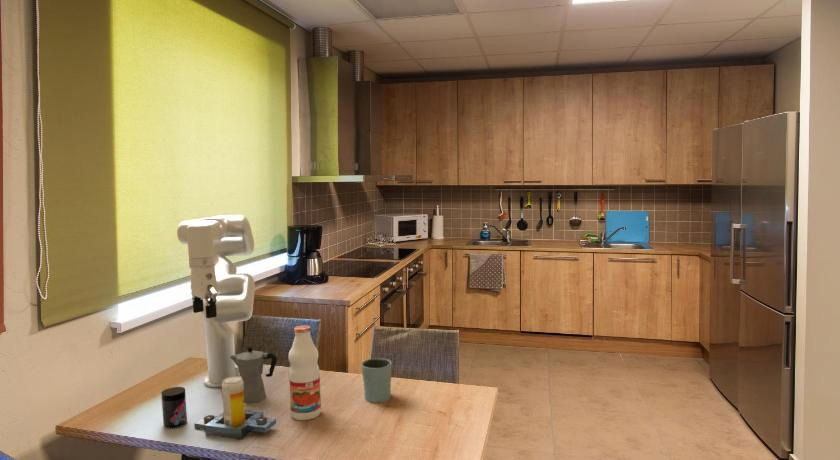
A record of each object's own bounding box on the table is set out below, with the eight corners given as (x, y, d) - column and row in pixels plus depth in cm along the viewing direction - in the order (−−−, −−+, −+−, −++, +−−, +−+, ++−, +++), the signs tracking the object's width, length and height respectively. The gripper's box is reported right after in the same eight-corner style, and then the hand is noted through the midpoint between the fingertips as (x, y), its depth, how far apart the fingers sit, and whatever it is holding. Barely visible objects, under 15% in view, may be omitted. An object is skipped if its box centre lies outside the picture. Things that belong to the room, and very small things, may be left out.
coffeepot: (228, 404, 186) (225, 351, 184) (236, 393, 196) (233, 342, 194) (275, 403, 187) (273, 350, 185) (281, 392, 196) (279, 341, 194)
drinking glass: (374, 406, 183) (373, 370, 182) (356, 397, 191) (355, 362, 190) (398, 397, 190) (397, 362, 189) (380, 389, 198) (379, 355, 196)
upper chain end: (205, 430, 165) (204, 422, 165) (229, 412, 177) (229, 405, 177) (259, 437, 160) (259, 429, 160) (281, 419, 172) (281, 411, 172)
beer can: (249, 424, 172) (247, 377, 170) (237, 433, 166) (234, 384, 164) (233, 422, 174) (230, 374, 172) (219, 431, 168) (217, 382, 166)
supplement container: (165, 431, 168) (163, 397, 167) (161, 422, 174) (159, 390, 173) (189, 425, 172) (187, 392, 171) (184, 417, 178) (182, 385, 177)
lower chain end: (187, 432, 167) (187, 424, 167) (213, 415, 179) (212, 408, 178) (241, 439, 162) (240, 431, 162) (264, 421, 174) (263, 414, 173)
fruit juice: (317, 405, 184) (314, 321, 181) (324, 417, 176) (321, 329, 173) (288, 411, 181) (284, 325, 178) (293, 423, 172) (289, 333, 169)
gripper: (225, 263, 178) (228, 317, 180) (201, 257, 190) (205, 308, 192) (201, 267, 173) (204, 322, 175) (179, 260, 185) (182, 312, 187)
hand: (204, 314), depth 183 cm, fingers open, 9 cm apart
